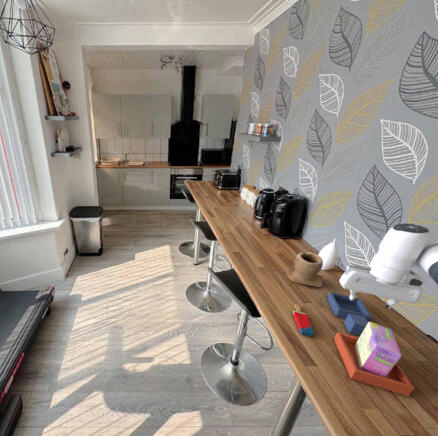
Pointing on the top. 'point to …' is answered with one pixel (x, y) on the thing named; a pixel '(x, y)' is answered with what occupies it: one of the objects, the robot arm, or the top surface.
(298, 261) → the stone cup
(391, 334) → the box
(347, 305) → the slate bin
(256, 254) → the top surface
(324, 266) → the sauce bottle
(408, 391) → the terracotta bin
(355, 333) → the slate block
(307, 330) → the popsicle
